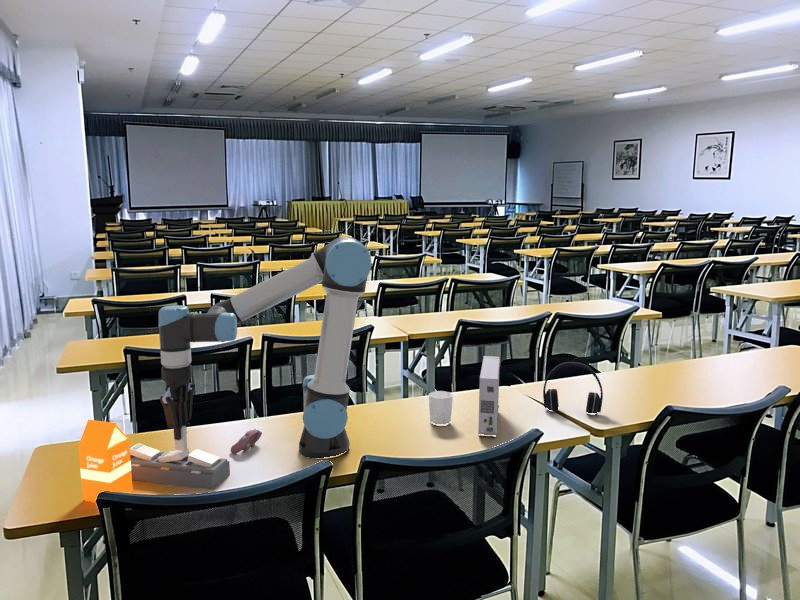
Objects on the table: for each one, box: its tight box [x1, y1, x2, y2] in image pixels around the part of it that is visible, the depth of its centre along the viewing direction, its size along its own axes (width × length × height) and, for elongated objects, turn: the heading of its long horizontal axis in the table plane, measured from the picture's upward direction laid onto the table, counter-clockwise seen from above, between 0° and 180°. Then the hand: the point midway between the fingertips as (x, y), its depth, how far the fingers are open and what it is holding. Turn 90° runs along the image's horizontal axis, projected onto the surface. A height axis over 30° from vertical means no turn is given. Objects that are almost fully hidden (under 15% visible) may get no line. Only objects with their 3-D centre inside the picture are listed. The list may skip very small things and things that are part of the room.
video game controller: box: [230, 428, 263, 454], centre depth 190 cm, size 10×5×7 cm, turn 160°
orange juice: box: [77, 419, 134, 503], centre depth 159 cm, size 8×9×20 cm
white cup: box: [428, 390, 454, 424], centre depth 210 cm, size 8×8×10 cm
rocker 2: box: [158, 447, 191, 462], centre depth 170 cm, size 7×4×2 cm, turn 76°
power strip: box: [130, 451, 231, 490], centre depth 171 cm, size 28×9×5 cm, turn 76°
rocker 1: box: [129, 442, 162, 461], centre depth 173 cm, size 7×4×2 cm, turn 76°
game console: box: [477, 355, 501, 436], centre depth 209 cm, size 6×27×20 cm, turn 170°
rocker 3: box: [187, 448, 220, 468], centre depth 168 cm, size 7×4×2 cm, turn 76°
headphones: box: [542, 361, 604, 414], centre depth 220 cm, size 20×7×18 cm, turn 74°
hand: (181, 449), depth 169 cm, fingers closed
